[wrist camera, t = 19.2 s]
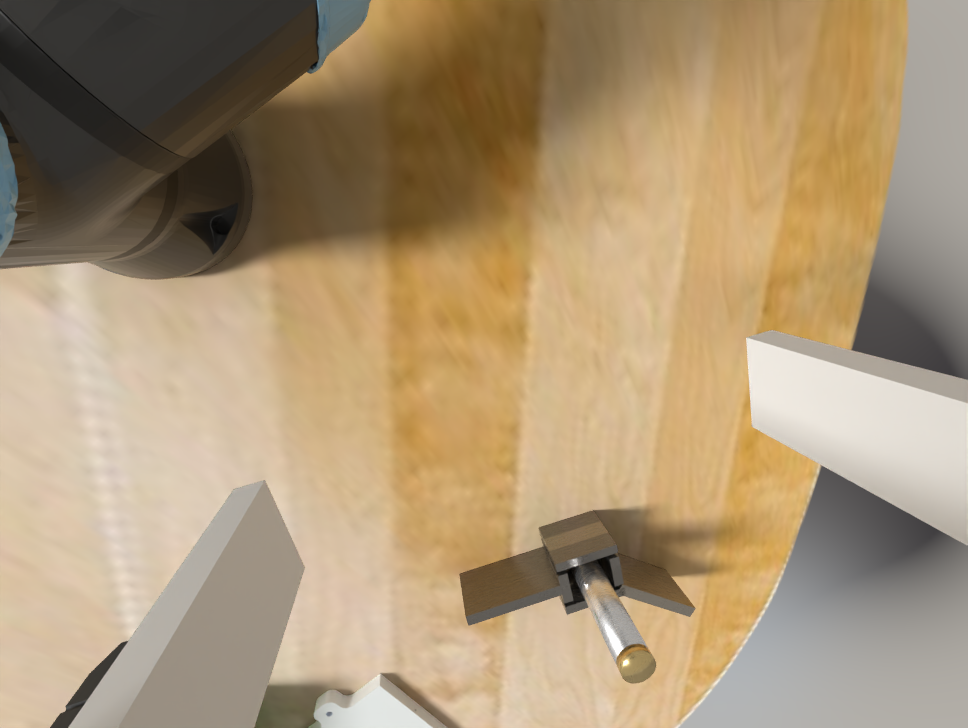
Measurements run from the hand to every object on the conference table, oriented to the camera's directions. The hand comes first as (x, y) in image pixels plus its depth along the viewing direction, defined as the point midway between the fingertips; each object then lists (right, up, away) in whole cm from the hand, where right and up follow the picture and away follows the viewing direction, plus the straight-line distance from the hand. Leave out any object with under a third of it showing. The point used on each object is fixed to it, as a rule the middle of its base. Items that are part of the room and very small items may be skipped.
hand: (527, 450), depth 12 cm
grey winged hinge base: (+9, -21, +41) cm, 47 cm away
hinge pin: (+9, -18, +40) cm, 45 cm away
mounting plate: (-15, -43, +43) cm, 63 cm away
